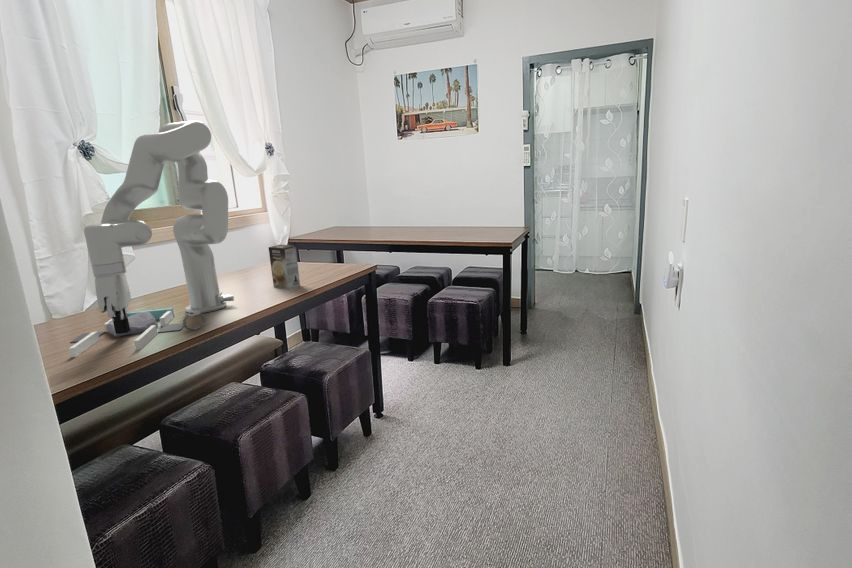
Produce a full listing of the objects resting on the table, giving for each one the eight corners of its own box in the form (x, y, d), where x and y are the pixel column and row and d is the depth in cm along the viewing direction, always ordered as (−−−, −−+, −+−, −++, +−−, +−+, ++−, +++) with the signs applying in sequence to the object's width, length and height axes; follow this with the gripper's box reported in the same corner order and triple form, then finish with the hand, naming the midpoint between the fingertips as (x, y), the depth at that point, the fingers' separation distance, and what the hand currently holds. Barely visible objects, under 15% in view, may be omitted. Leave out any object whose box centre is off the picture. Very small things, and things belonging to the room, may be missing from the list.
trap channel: (194, 314, 152) (193, 305, 151) (166, 346, 124) (163, 335, 123) (97, 325, 146) (94, 316, 146) (44, 360, 119) (41, 349, 118)
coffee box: (272, 287, 183) (267, 247, 180) (285, 283, 189) (280, 244, 185) (288, 289, 179) (283, 248, 175) (301, 285, 184) (296, 245, 180)
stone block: (162, 333, 141) (149, 320, 147) (160, 319, 139) (147, 307, 145) (118, 346, 133) (106, 333, 139) (114, 331, 131) (103, 318, 137)
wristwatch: (202, 325, 141) (199, 309, 139) (208, 326, 139) (205, 310, 138) (182, 331, 136) (179, 315, 134) (188, 333, 134) (184, 316, 133)
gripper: (106, 265, 134) (119, 325, 139) (80, 276, 120) (96, 343, 124) (134, 262, 136) (147, 322, 140) (113, 273, 121) (127, 339, 126)
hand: (123, 332), depth 132 cm, fingers closed
